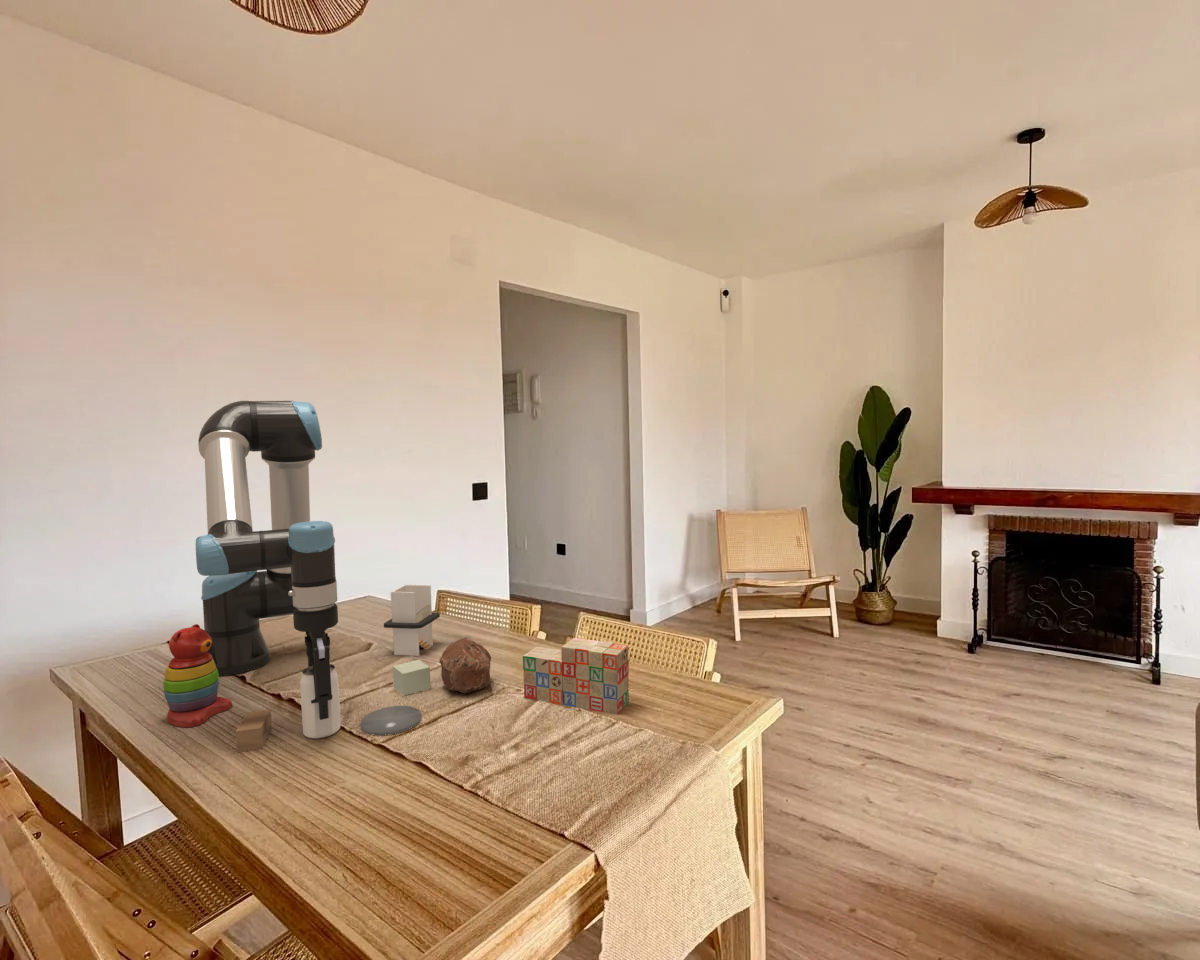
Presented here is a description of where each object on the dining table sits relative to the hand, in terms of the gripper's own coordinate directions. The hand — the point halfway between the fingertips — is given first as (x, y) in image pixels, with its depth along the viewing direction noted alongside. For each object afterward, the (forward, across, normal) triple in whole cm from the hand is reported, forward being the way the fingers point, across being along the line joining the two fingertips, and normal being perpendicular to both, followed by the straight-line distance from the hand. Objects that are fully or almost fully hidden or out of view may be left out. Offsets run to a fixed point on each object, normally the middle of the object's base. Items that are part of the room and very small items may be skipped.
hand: (321, 726), depth 119 cm
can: (+1, 0, 0) cm, 1 cm away
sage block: (+1, -12, +19) cm, 23 cm away
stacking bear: (+1, -22, -21) cm, 30 cm away
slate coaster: (+1, +3, +12) cm, 12 cm away
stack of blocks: (+1, +13, +47) cm, 49 cm away
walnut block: (+1, -3, -11) cm, 11 cm away
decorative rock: (+1, -6, +30) cm, 31 cm away
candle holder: (+1, -37, +26) cm, 45 cm away
